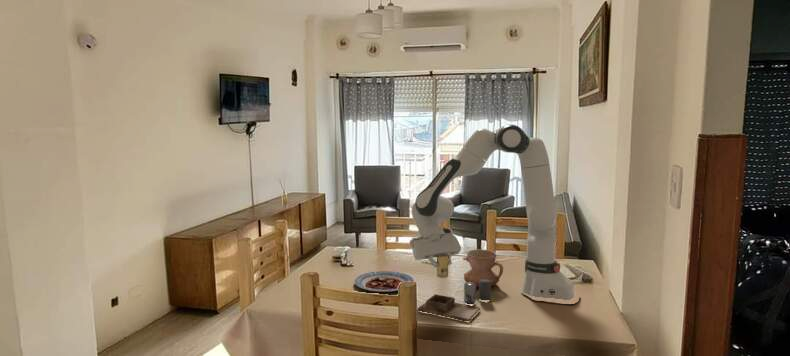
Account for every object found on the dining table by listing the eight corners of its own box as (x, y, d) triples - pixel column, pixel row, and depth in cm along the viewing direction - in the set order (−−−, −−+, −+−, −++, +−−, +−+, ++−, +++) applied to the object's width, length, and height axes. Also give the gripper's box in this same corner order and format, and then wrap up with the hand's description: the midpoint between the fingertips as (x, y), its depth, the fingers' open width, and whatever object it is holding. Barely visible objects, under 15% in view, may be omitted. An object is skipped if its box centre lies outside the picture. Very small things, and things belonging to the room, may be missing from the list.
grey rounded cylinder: (492, 300, 193) (492, 280, 192) (488, 303, 189) (488, 283, 188) (481, 298, 195) (481, 278, 194) (477, 301, 191) (477, 281, 190)
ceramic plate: (408, 298, 196) (408, 290, 195) (346, 293, 201) (346, 286, 200) (418, 277, 221) (418, 271, 220) (363, 274, 226) (363, 267, 225)
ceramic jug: (455, 286, 209) (456, 253, 207) (469, 277, 221) (470, 246, 219) (495, 294, 199) (496, 260, 197) (508, 284, 211) (509, 252, 210)
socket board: (480, 311, 181) (480, 299, 181) (468, 323, 171) (468, 310, 171) (431, 301, 191) (431, 290, 191) (417, 312, 181) (417, 300, 180)
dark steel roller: (477, 303, 190) (477, 283, 189) (473, 307, 186) (473, 286, 185) (466, 301, 192) (466, 281, 191) (462, 304, 188) (462, 284, 187)
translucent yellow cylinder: (449, 275, 194) (449, 255, 193) (445, 278, 190) (445, 258, 189) (439, 273, 196) (439, 254, 195) (435, 276, 192) (434, 257, 191)
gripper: (410, 234, 193) (422, 264, 186) (455, 229, 202) (468, 258, 194) (406, 243, 198) (417, 273, 190) (450, 237, 206) (462, 266, 198)
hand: (443, 265), depth 192 cm, fingers closed on translucent yellow cylinder, 4 cm apart
